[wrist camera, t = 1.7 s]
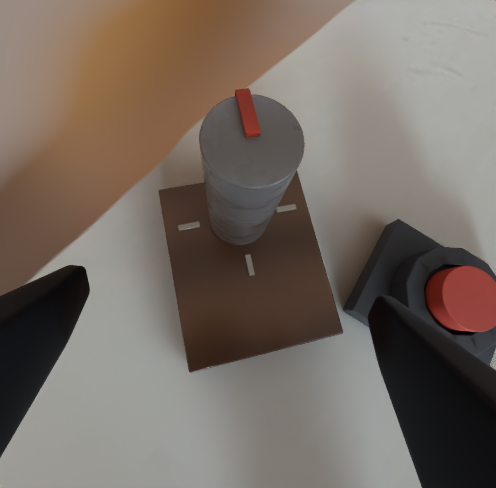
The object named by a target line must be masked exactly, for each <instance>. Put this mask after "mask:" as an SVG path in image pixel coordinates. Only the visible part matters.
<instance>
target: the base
mask: <svg viewBox="0 0 496 488" xmlns="http://www.w3.org/2000/svg"><path fill="white" fill-rule="evenodd" d="M159 196H160V202H161V208H162V214H163V220H164V226H165V232H166V238H167V244H168V250H169V256H170V262H171V268H172V274H173V280H174V286H175V291H176V297H177V303H178V309H179V315H180V321H181V327H182V333H183V339H184V345H185V351H186V357H187V363H188V369H189V372H190V373H191V372H195V371H199V370H203V369H207V368H211V367H215V366H219V365H222V364H226V363H230V362H234V361H238V360H242V359H246V358H250V357H254V356H257V355H261V354H265V353H269V352H273V351H277V350H281V349H285V348H288V347H292V346H296V345H300V344H304V343H308V342H312V341H316V340H320V339H323V338H327V337H331V336H335V335H339V334H342V333H343V330H342V326H341V323H340V319H339V316H338V312H337V309H336V305H335V302H334V298H333V295H332V291H331V288H330V285H329V281H328V278H327V274H326V271H325V267H324V264H323V260H322V257H321V253H320V250H319V246H318V243H317V239H316V236H315V232H314V229H313V225H312V222H311V218H310V215H309V211H308V208H307V204H306V201H305V197H304V194H303V190H302V187H301V183H300V180H299V176H298V173H297V170H296V172H295V174H294V176H293V178H292V180H291V181H290V183H289V185H288V187H287V189H286V191H285V193H284V195H283V197H282V199H281V200H280V202H279V204H278V206H277V208H276V210H275V212H274V214H273V216H272V217H271V219H270V221H269V223H268V225H267V227H266V229H265V231H264V232H263V234H262V235H261V236H260V237H259V238H258V239H257V240H255V241H254V242H252V243H249V244H245V245H233V244H229V243H227V242H225V241H223V240H222V239H220V238H219V237H218V236H217V235H216V234H215V233H214V231H213V229H212V227H211V224H210V219H209V212H208V204H207V196H206V189H205V183H199V184H193V185H187V186H181V187H175V188H169V189H163V190H159Z"/></svg>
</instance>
